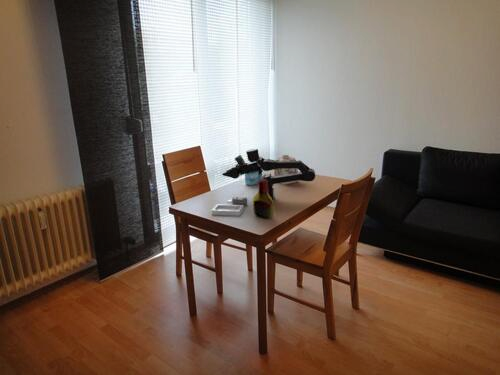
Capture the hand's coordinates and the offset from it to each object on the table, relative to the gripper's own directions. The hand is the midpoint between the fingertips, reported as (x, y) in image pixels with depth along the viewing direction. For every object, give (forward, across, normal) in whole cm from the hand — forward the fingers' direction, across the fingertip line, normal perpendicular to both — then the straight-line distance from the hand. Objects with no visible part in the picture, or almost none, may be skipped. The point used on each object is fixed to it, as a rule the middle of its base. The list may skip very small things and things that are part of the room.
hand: (224, 173), depth 208 cm
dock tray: (-3, +20, +19) cm, 27 cm away
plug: (-6, +9, +18) cm, 21 cm away
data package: (-9, -33, +15) cm, 37 cm away
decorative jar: (-30, -36, +18) cm, 50 cm away
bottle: (-23, +25, +23) cm, 41 cm away
